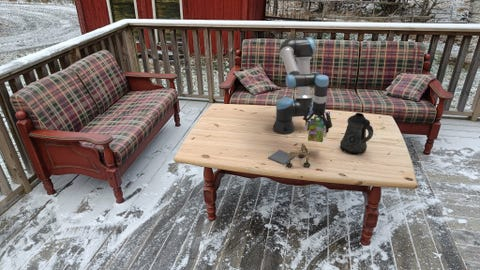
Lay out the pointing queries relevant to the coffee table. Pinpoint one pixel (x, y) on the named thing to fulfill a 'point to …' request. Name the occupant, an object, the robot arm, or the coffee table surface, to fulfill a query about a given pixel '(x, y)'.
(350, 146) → the beer stein
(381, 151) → the coffee table surface
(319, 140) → the chalk box
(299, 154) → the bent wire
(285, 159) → the slate pad
